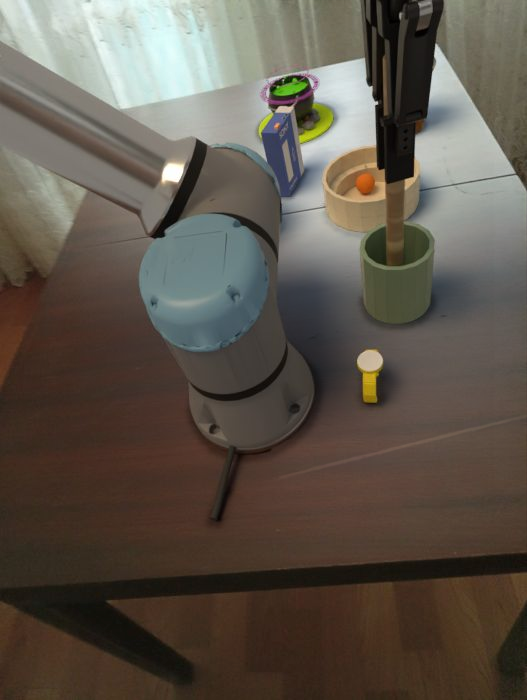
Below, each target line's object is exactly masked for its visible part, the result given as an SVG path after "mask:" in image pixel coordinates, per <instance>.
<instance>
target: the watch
mask: <svg viewBox="0 0 527 700" xmlns="http://www.w3.org/2000/svg"><path fill="white" fill-rule="evenodd" d="M356 365H357V366H356V367H357V369H358V371H360V372H361V373H362V398H363V402H364V403H371V404H374V403H375V404H377V402H378V397H377V377H379V375H380V373H379V372H381V370H382V369H383V367H384V358H383V356H382V355H381V354H380V352H379V350H378V349H365V350H364V351H362V353H360V354H359V355H358V357H357V359H356Z"/></svg>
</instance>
